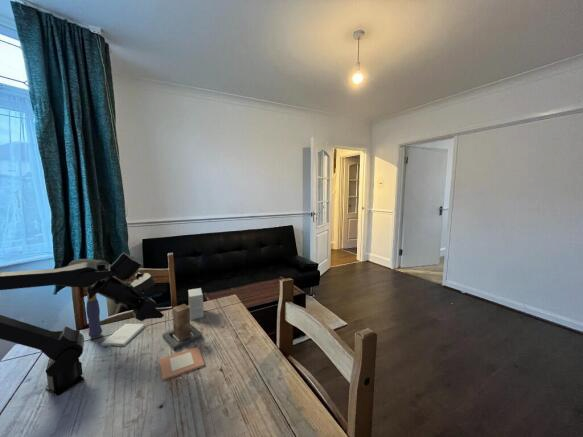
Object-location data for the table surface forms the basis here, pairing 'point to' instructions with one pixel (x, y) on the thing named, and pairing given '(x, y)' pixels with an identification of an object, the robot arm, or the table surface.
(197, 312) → the small box
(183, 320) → the walnut post
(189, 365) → the pad
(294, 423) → the table surface
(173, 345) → the frame
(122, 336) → the external hard drive
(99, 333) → the rubber mallet
